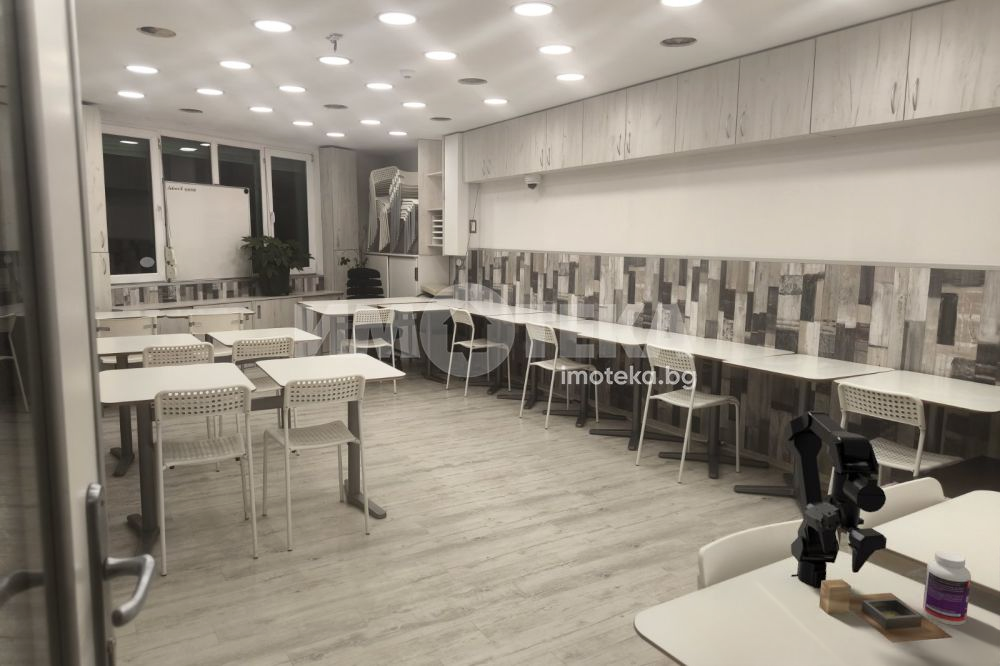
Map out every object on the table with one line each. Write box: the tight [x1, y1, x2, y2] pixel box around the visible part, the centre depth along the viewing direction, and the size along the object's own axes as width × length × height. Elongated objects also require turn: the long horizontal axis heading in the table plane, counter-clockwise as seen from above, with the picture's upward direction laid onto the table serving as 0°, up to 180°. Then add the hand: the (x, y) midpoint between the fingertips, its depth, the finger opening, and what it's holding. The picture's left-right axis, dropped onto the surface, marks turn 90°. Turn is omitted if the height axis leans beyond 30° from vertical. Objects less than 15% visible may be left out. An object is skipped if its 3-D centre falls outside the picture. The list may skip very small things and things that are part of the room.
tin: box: [861, 597, 922, 630], centre depth 148 cm, size 7×8×2 cm
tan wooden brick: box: [818, 578, 852, 615], centre depth 151 cm, size 3×5×7 cm, turn 99°
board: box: [849, 592, 953, 643], centre depth 150 cm, size 18×14×1 cm
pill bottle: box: [922, 549, 972, 626], centre depth 150 cm, size 8×8×14 cm
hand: (840, 562), depth 150 cm, fingers open, 9 cm apart
